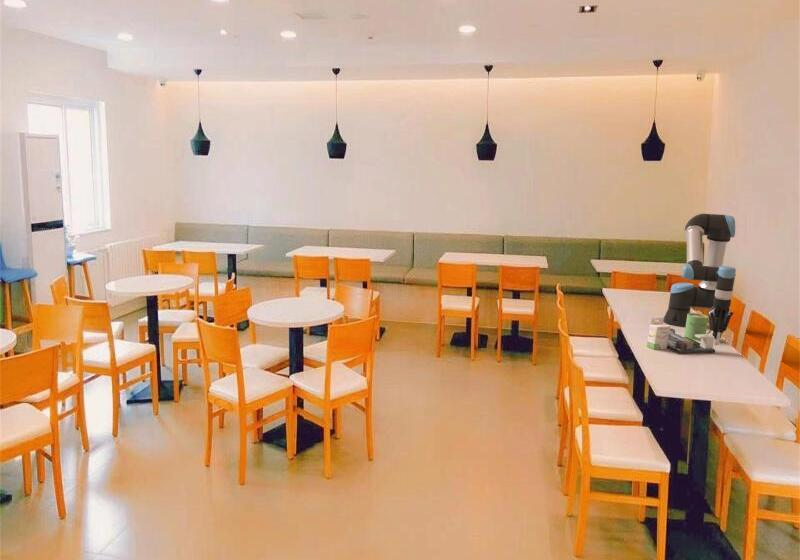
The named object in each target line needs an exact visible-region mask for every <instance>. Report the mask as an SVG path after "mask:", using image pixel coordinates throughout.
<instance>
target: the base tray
mask: <svg viewBox="0 0 800 560" xmlns="http://www.w3.org/2000/svg"><path fill="white" fill-rule="evenodd" d="M669 331H671V332H673V333H675V334H676V329H674V328H671V327H670V330H669ZM669 337H673V336H671V335H669ZM683 337H684V338H686V339H688V340H690V341H693V342H694V344H688V343H685V344H684V346H674V345H672V344H670V343H668V344H667V348H666V349H668V350H670V351H672V352H674V353H676V354H678V355H689V354H690V355H691V354H694V355H695V354H697V355H698V354H716V349H715V348H707V349H705V348H703V347H700V343H701V342H698V341H697V340H694V339H690V338H688V337H685V336H683Z"/></svg>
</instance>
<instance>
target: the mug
mask: <svg viewBox="0 0 800 560" xmlns="http://www.w3.org/2000/svg"><path fill="white" fill-rule="evenodd" d="M708 323H709V315H706V314H703V313H699V312H698V313H696V312H690V313H688V314H687V321H686V326H684V327H685V329H684V336H683V337H688V338H690V339H692V340H694V341H701V338H698V337H696V336H695V335H697V334H710V333H711V332H712V330H710V329H709V331H708V332H707V329H708Z"/></svg>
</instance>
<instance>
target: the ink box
mask: <svg viewBox="0 0 800 560" xmlns="http://www.w3.org/2000/svg"><path fill="white" fill-rule="evenodd" d="M663 320H664V317H654V318H653V317H652V318H651V321H650V324H649V330H648V338H647V339H648V340H647V344H646V347H647V348H650V349H652V350H662V349H664V350H665V349H668V348H667V344H668V337H669V330H670V329H671V326H670V324H667V323H664V322H663Z"/></svg>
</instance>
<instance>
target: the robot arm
mask: <svg viewBox="0 0 800 560" xmlns="http://www.w3.org/2000/svg"><path fill="white" fill-rule="evenodd" d="M735 235H736V219H735V218H734V216H732V215H729V214H718V213H717V214H714V213H699V214H696V215H694V216H692V217H691V218H690V219H689V220H688V221H687V223H686V224H685V227H684V236H685V237H686V263H685V264H683V265H682V272H681V278H683V279H685V280H690V281H700V282H698V286H695V284H694V283H690V282H677V283H674V284H672V285H671V288H670V292H669V293H670V295H669V300H668V301H669V302H668V308H667V311H666V312H665V315H664V316H663V318H664V320H663V323H664V324H666V325H672V326H677V327H686V321H687V314H688V313H691V309H692V308H700V309H707V310H710V311H707V316H708V321H709V322H708V323H709V331H710V330H711V332H712V336H714V342H713V346H720V339H721V338H722V334H724V333H725V332H726V331H727V328H728V326H729V325H730V324H729V323H730V321H731V318H732V317H733V314H734V312H732V311H731V310H730V307H731V304H732V300H731V299H732V298H733V291H734V285H735V279H736V270H737V269H736V268H735V267H734V266H728V265H723V264H724V258H725V252H726V247H727V244H728V243H729V242H730V241H731V239H733V238H734V237H735ZM704 236H706V239H707V240H708V246H707V252H706V258H705V263H704V250H703V249H704V248H703V237H704Z"/></svg>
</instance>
